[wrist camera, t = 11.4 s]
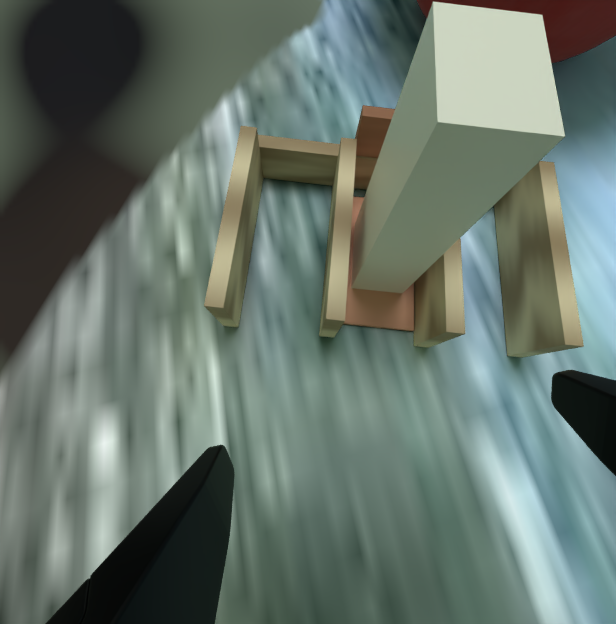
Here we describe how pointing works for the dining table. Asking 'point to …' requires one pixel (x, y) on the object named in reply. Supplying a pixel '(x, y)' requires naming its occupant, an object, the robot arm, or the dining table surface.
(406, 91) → the tall off-white box
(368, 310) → the rack
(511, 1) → the mixing bowl
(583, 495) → the dining table surface
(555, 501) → the dining table surface
